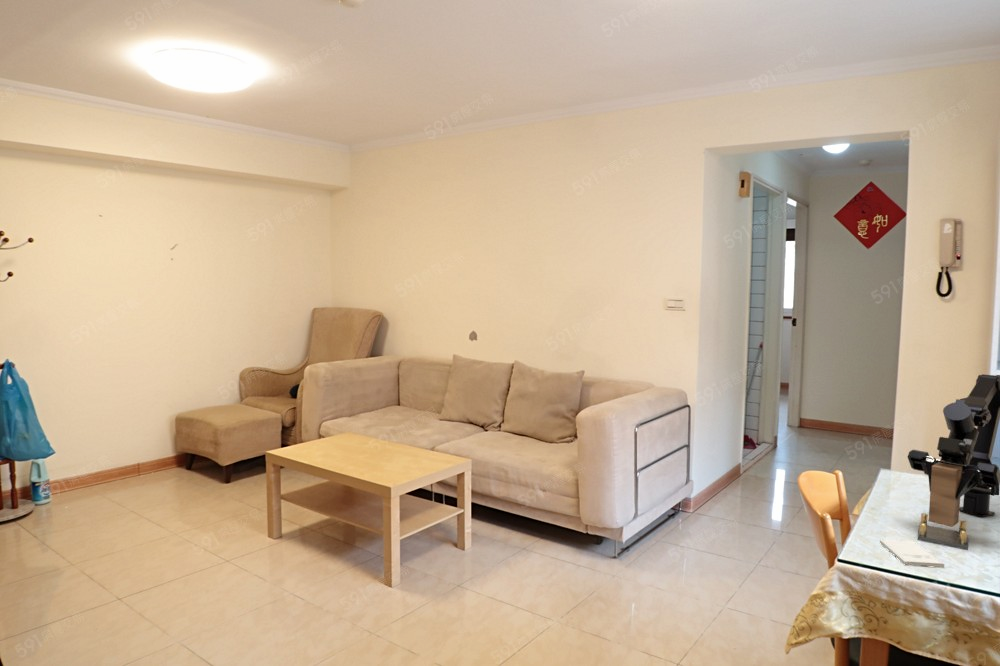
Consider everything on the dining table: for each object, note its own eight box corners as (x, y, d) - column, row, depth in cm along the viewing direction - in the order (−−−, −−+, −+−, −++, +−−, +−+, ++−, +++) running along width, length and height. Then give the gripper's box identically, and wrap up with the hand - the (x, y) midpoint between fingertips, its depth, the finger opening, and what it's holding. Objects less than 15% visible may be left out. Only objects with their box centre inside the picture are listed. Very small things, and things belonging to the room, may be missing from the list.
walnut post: (935, 516, 162) (938, 462, 161) (958, 522, 158) (962, 466, 157) (928, 521, 159) (931, 466, 157) (952, 527, 155) (956, 470, 153)
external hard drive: (915, 547, 154) (944, 570, 142) (879, 545, 155) (904, 567, 143) (916, 541, 154) (944, 563, 142) (879, 539, 155) (904, 560, 143)
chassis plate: (919, 527, 165) (920, 512, 165) (966, 536, 160) (967, 521, 159) (917, 539, 157) (918, 523, 157) (967, 549, 152) (968, 533, 151)
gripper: (912, 418, 166) (894, 468, 160) (1001, 432, 152) (985, 486, 146) (920, 443, 172) (903, 492, 166) (1007, 459, 157) (992, 512, 151)
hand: (943, 495), depth 157 cm, fingers closed on walnut post, 5 cm apart
